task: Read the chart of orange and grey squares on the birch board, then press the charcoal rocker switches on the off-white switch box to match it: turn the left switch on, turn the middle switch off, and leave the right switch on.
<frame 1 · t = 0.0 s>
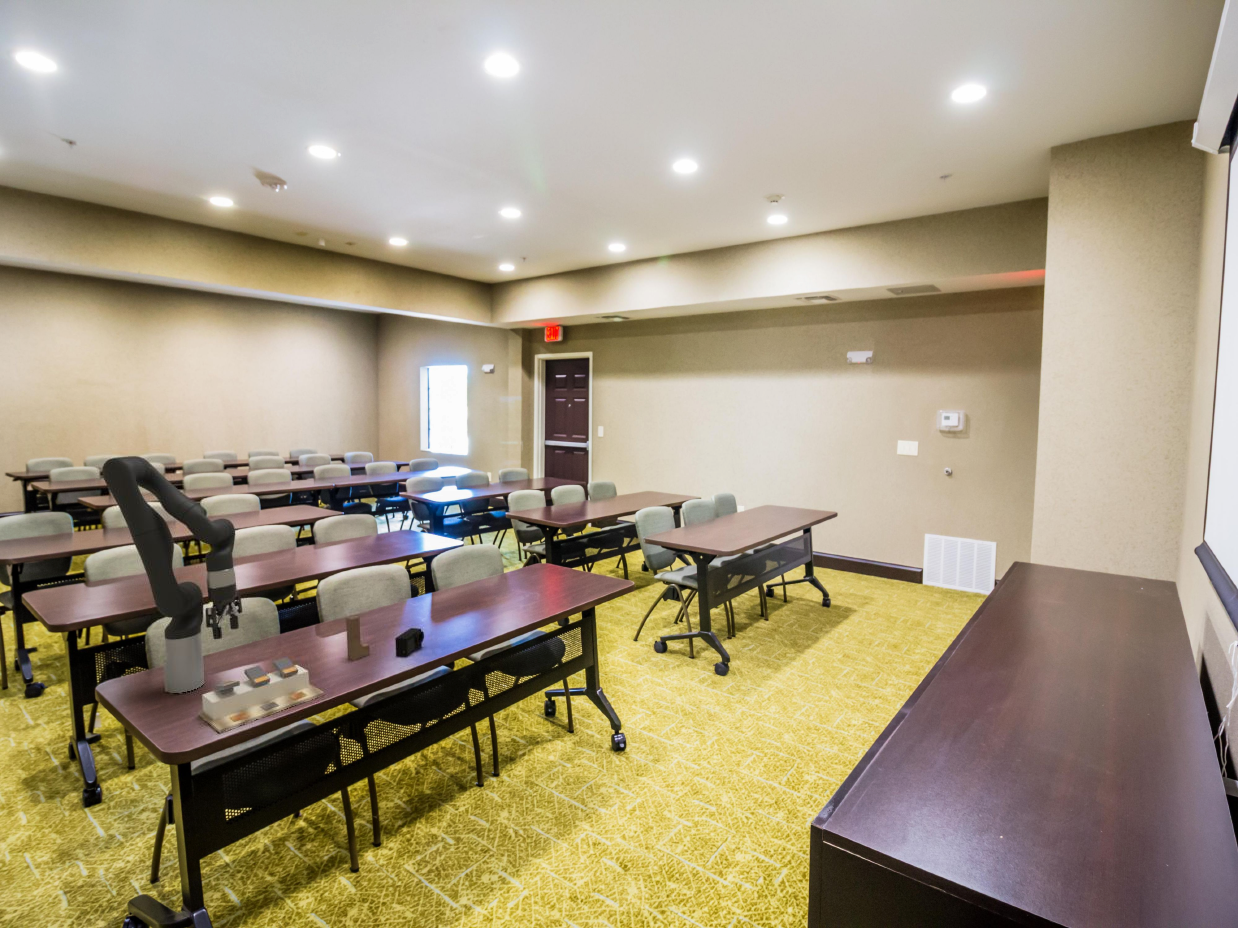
hand: (226, 633, 188), 17 cm above the table, tool pointing down, fingers open, 8 cm apart
switch right: (285, 666, 185), point 8 cm above the table, hinge at 15.0°
digital camera: (410, 652, 217), on the table
chart board: (263, 705, 177), on the table
switch box: (257, 689, 179), on the chart board, point 4 cm above the table
wooden block: (358, 657, 212), on the table
switch middle: (257, 675, 179), point 8 cm above the table, hinge at 15.0°
switch left: (226, 685, 172), point 8 cm above the table, hinge at -15.0°
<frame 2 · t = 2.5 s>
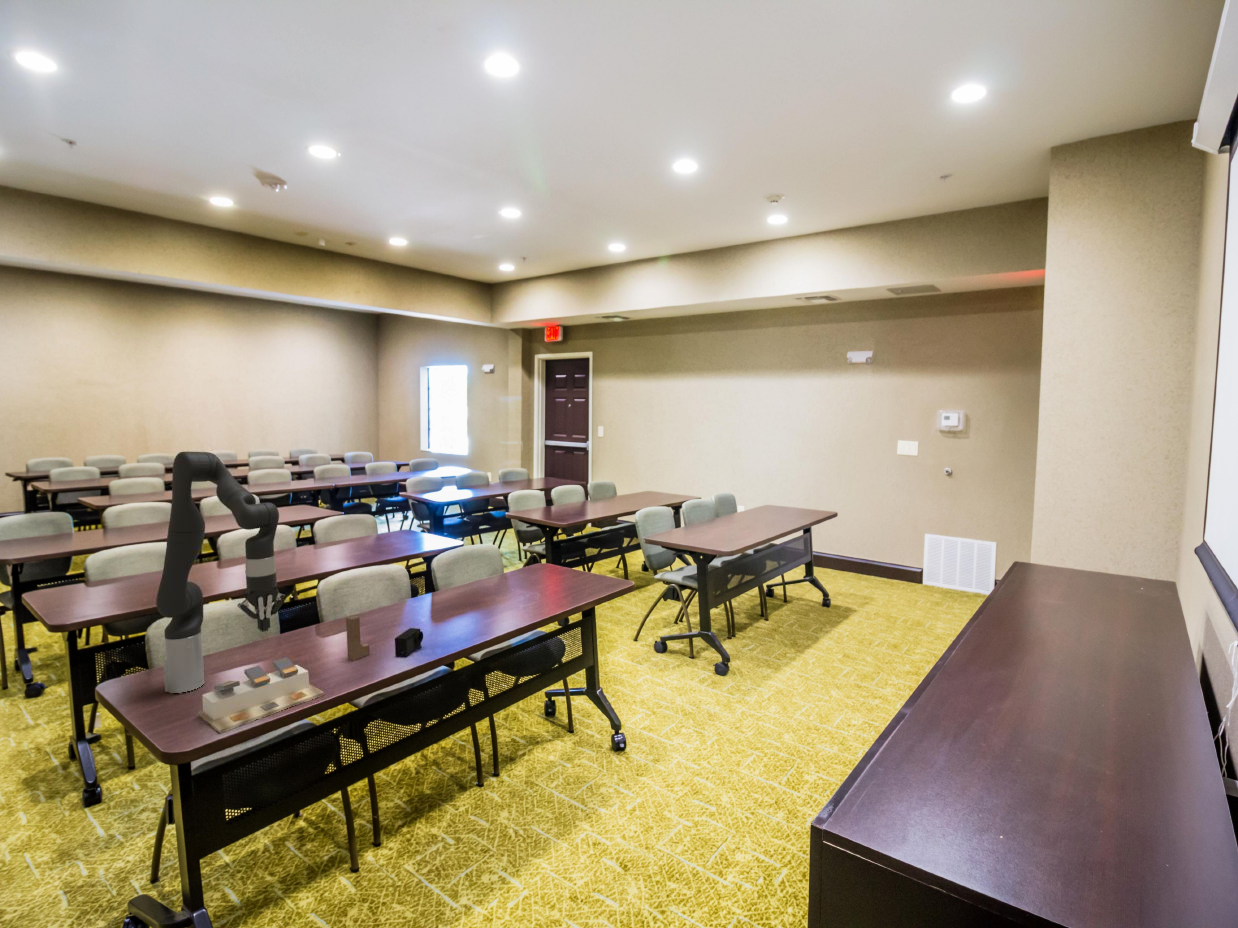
hand: (264, 630, 174), 23 cm above the table, tool pointing down, fingers closed
nothing on the table moved.
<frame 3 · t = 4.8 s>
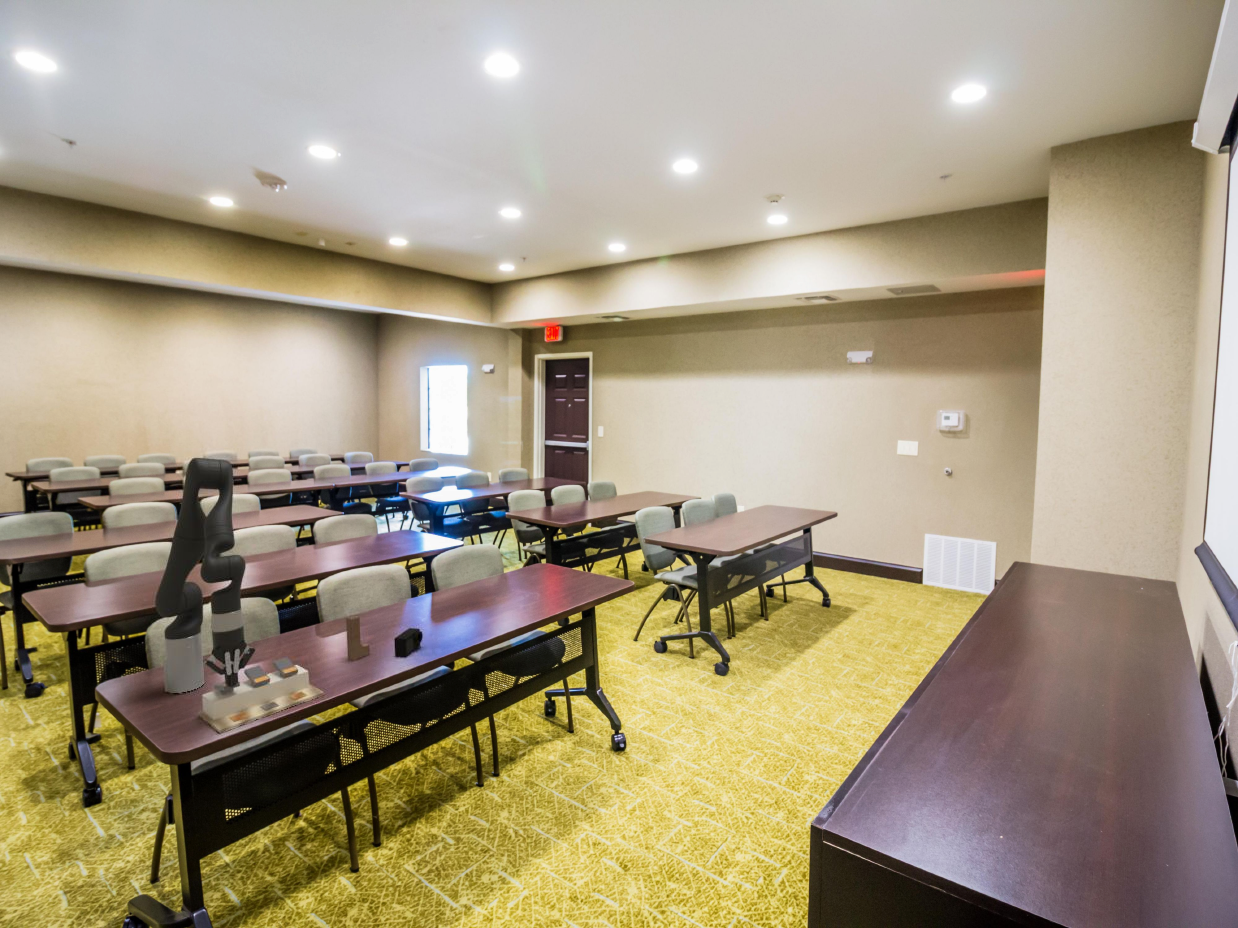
hand: (232, 685, 170), 9 cm above the table, tool pointing down, fingers closed
switch left: (226, 685, 172), point 8 cm above the table, hinge at -11.8°, touching gripper
everything else where it was.
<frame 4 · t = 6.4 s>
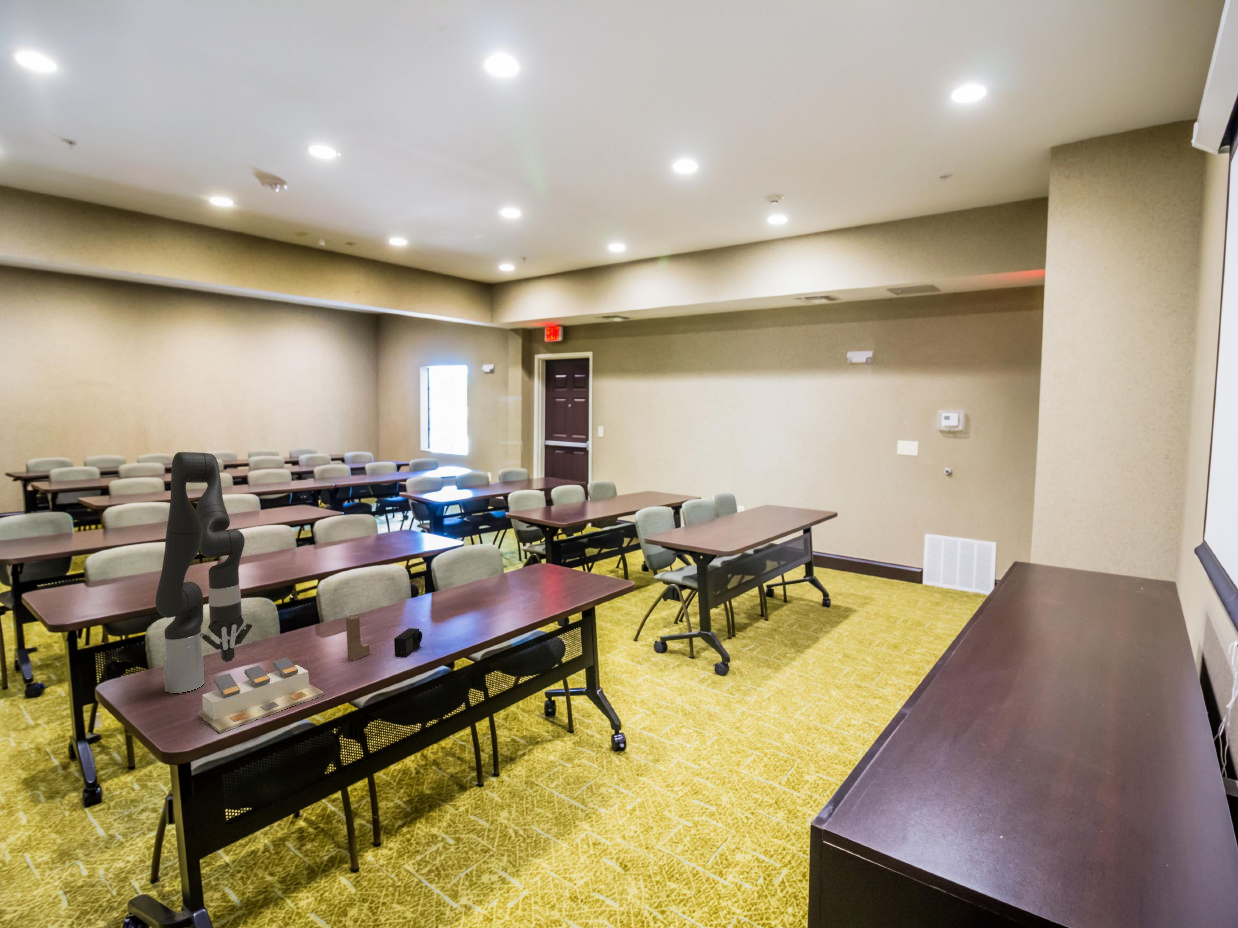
hand: (228, 660, 170), 16 cm above the table, tool pointing down, fingers closed
switch left: (226, 685, 172), point 8 cm above the table, hinge at 21.7°, touching switch box
everything else where it was.
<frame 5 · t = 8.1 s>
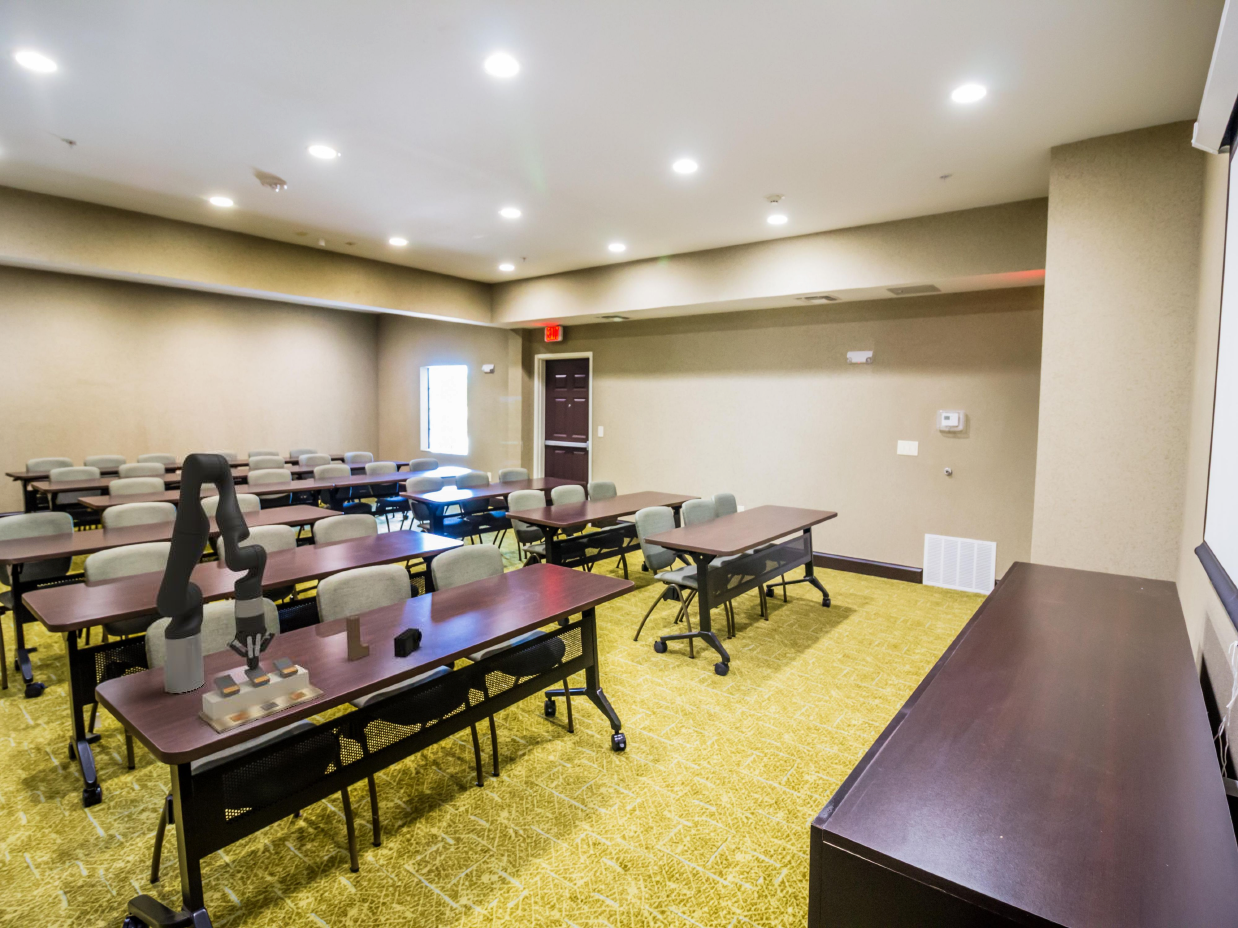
hand: (253, 667, 180), 10 cm above the table, tool pointing down, fingers closed
switch middle: (257, 675, 179), point 8 cm above the table, hinge at 15.0°, touching gripper
switch left: (226, 685, 172), point 8 cm above the table, hinge at 16.6°
everything else where it was.
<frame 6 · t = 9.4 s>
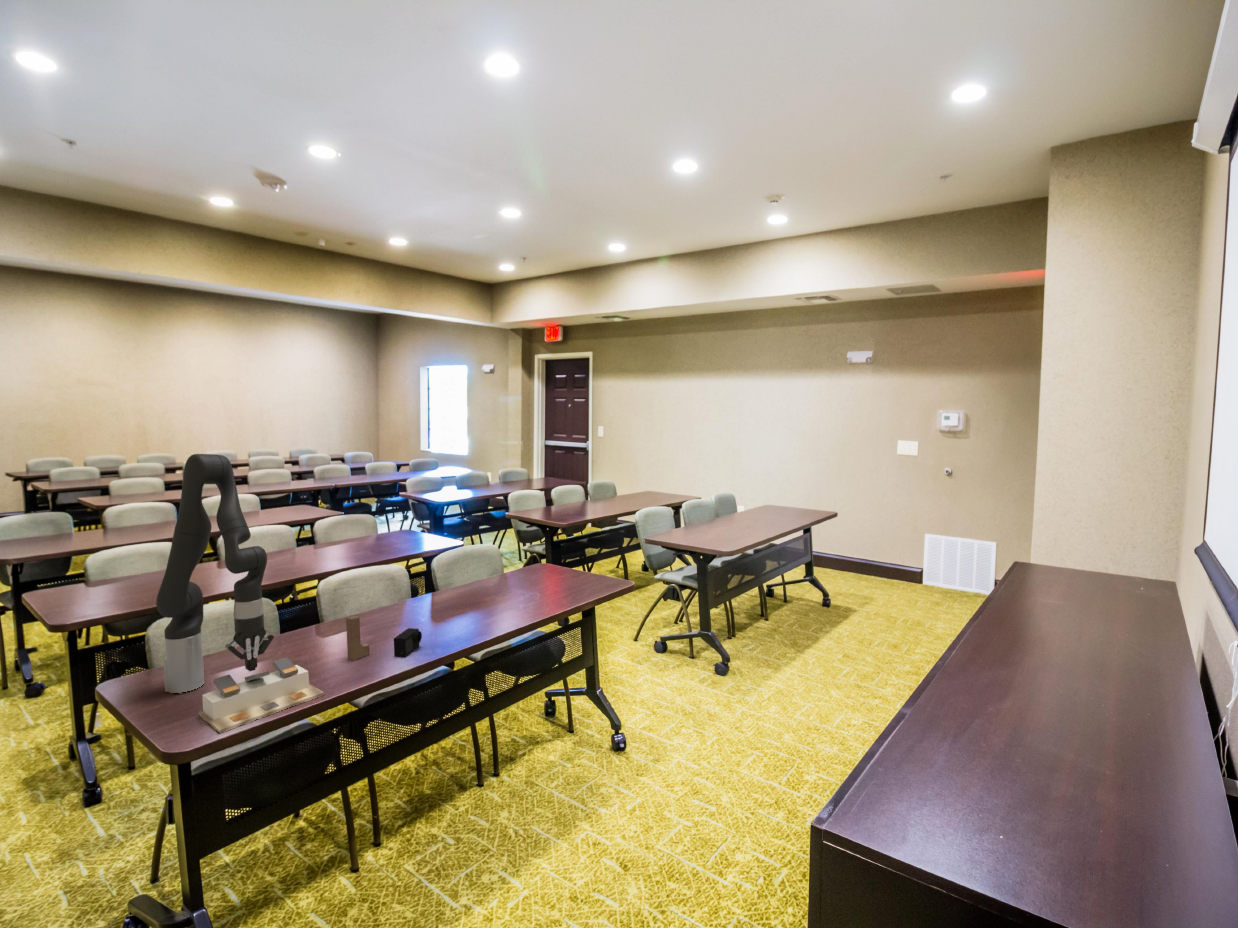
hand: (251, 669, 180), 9 cm above the table, tool pointing down, fingers closed
switch middle: (257, 675, 179), point 8 cm above the table, hinge at -20.1°
switch left: (226, 685, 172), point 8 cm above the table, hinge at 15.3°
everything else where it was.
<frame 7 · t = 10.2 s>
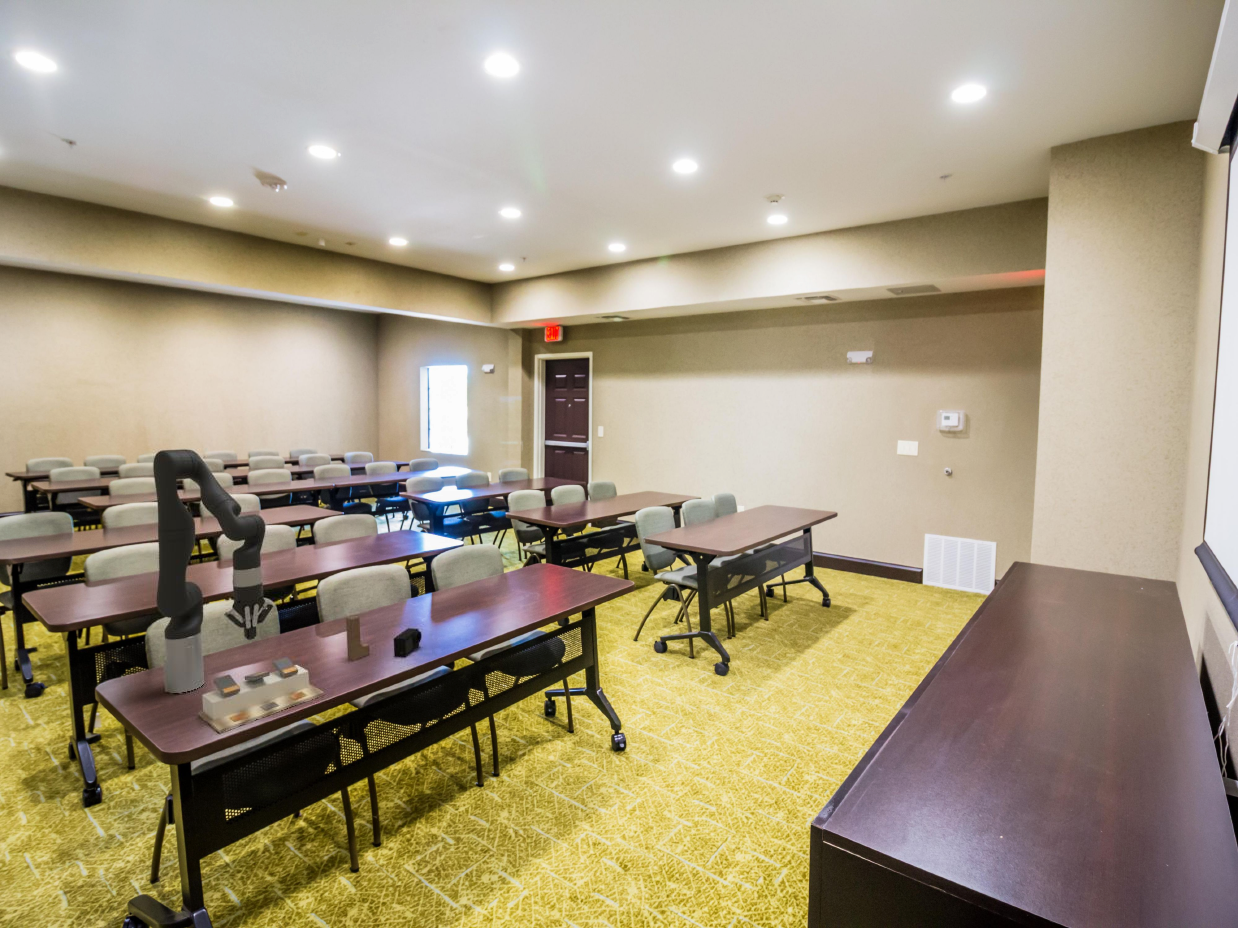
hand: (250, 638, 180), 19 cm above the table, tool pointing down, fingers closed
switch middle: (257, 675, 179), point 8 cm above the table, hinge at -16.0°
switch left: (226, 685, 172), point 8 cm above the table, hinge at 14.9°
everything else where it was.
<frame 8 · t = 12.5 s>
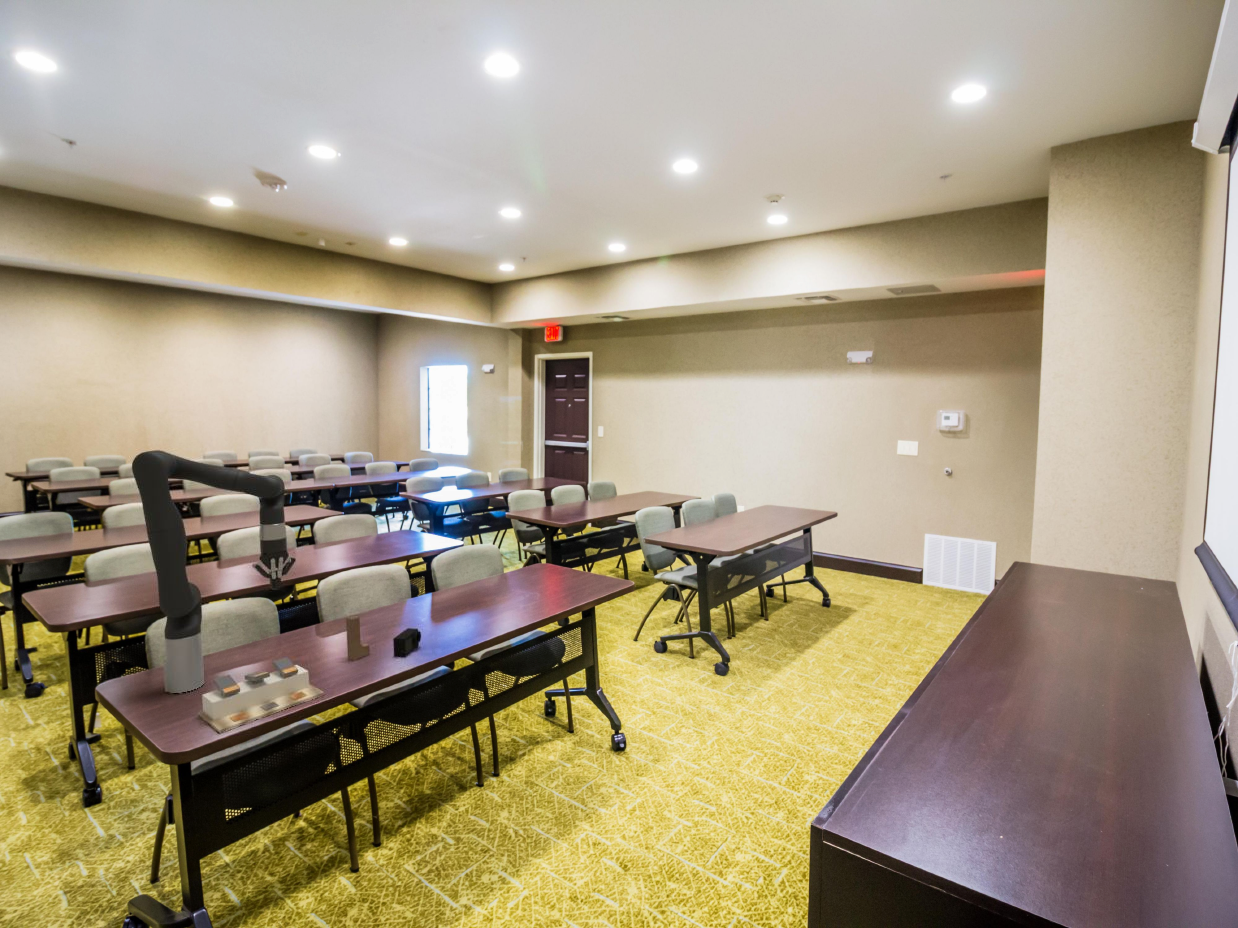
hand: (276, 589, 196), 29 cm above the table, tool pointing down, fingers closed
switch middle: (257, 675, 179), point 8 cm above the table, hinge at -11.8°
switch left: (226, 685, 172), point 8 cm above the table, hinge at 14.6°
everything else where it was.
at the end: switch left at +15° (first picture: -15°); switch middle at -12° (first picture: +15°); switch right at +15° (first picture: +15°) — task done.
